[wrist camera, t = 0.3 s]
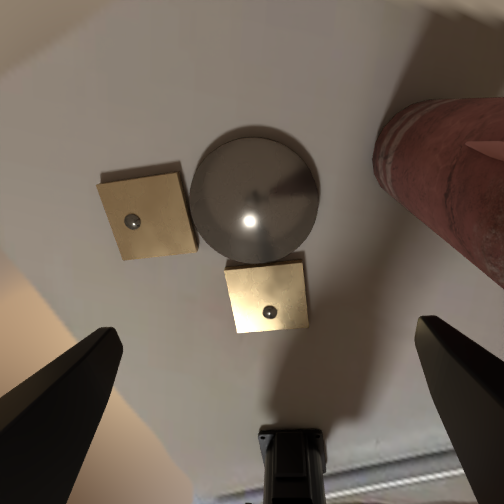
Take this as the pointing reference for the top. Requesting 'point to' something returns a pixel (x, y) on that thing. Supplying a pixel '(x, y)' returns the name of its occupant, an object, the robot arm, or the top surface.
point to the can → (450, 173)
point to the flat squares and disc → (228, 224)
